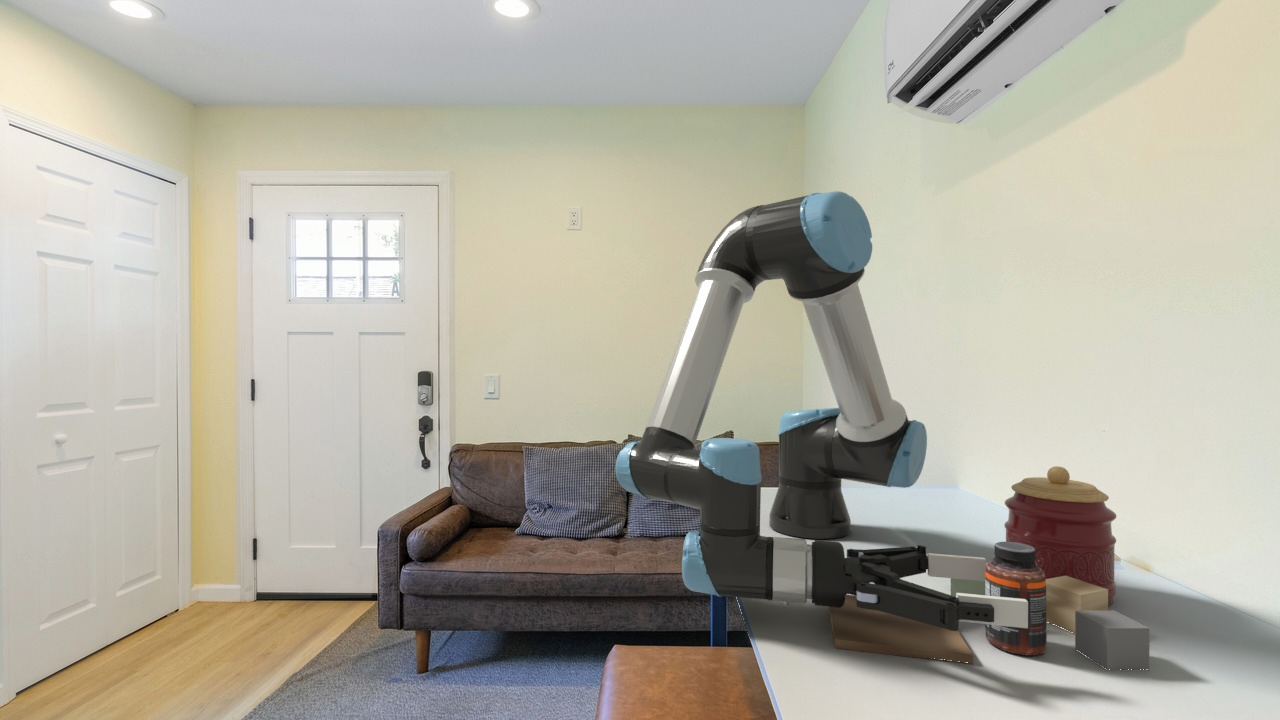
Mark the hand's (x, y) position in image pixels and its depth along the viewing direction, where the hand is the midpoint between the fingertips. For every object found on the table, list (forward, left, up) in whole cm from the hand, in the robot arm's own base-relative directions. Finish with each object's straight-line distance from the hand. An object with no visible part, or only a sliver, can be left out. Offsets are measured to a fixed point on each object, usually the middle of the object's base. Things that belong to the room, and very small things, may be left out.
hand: (1004, 589), depth 68 cm
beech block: (-9, +10, -7) cm, 15 cm away
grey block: (0, +10, -7) cm, 12 cm away
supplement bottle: (-1, +1, -7) cm, 7 cm away
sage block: (-14, 0, -7) cm, 15 cm away
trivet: (-2, -12, -7) cm, 13 cm away
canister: (-21, +13, -7) cm, 25 cm away
